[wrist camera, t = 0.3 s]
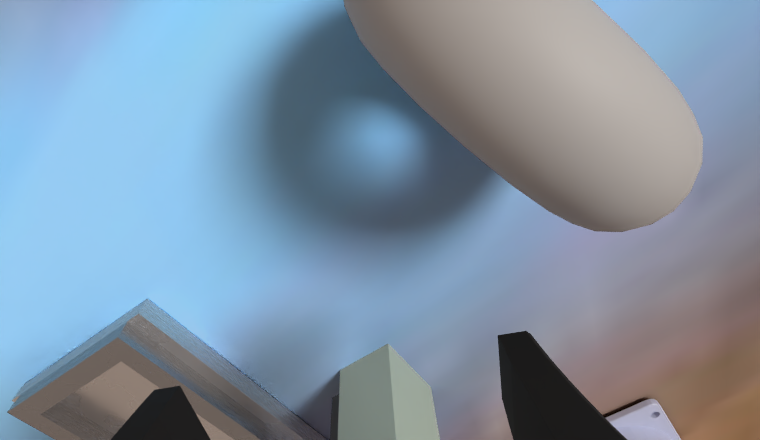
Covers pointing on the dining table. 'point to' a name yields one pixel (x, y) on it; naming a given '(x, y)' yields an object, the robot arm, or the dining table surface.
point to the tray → (150, 385)
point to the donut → (545, 101)
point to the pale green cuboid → (383, 401)
